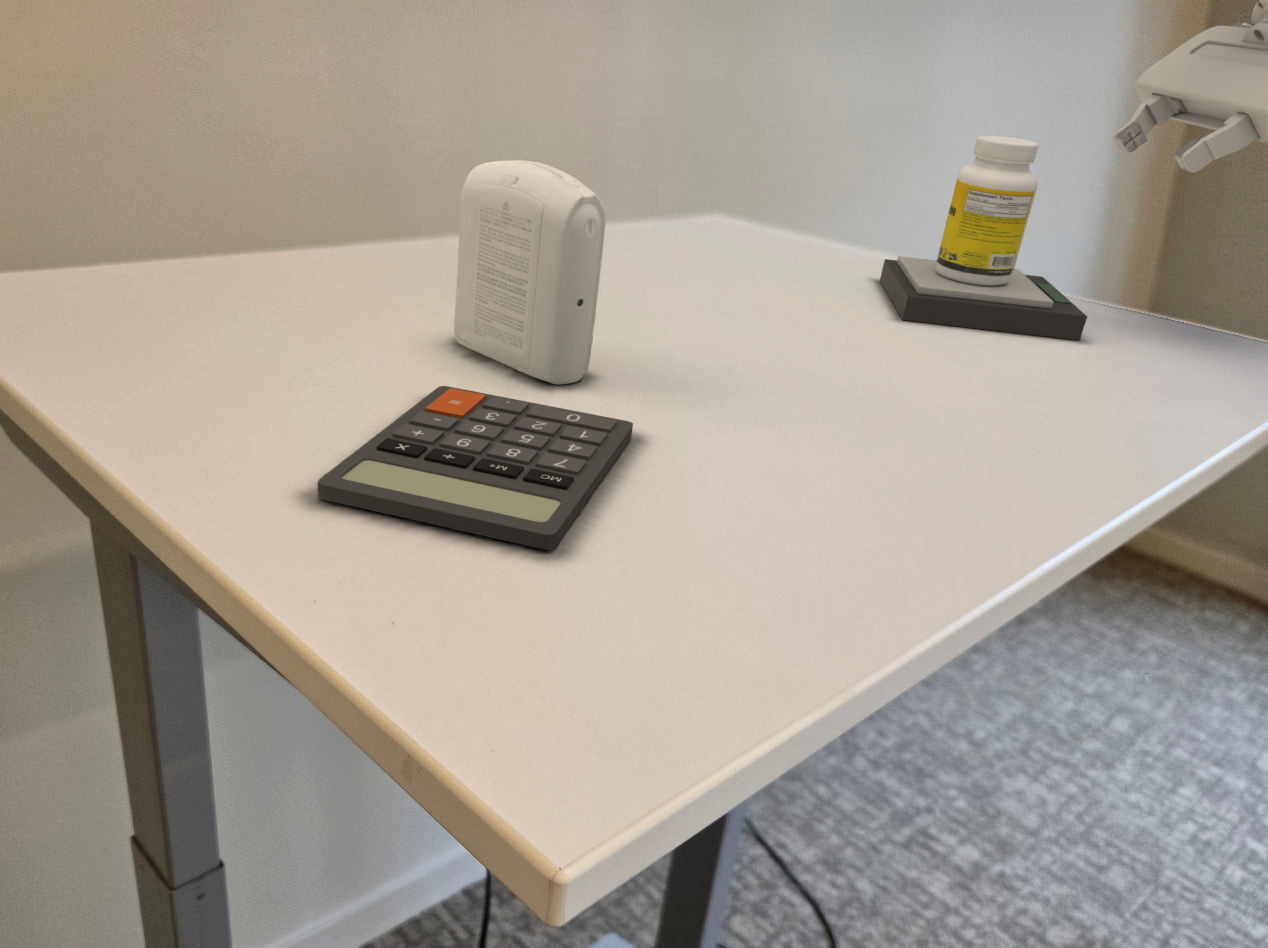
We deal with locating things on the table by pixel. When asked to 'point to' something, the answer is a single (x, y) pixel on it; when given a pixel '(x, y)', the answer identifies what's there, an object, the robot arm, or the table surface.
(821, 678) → the table surface
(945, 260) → the pill bottle
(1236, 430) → the table surface
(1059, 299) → the scale
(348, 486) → the calculator
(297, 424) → the table surface
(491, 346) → the photo printer
